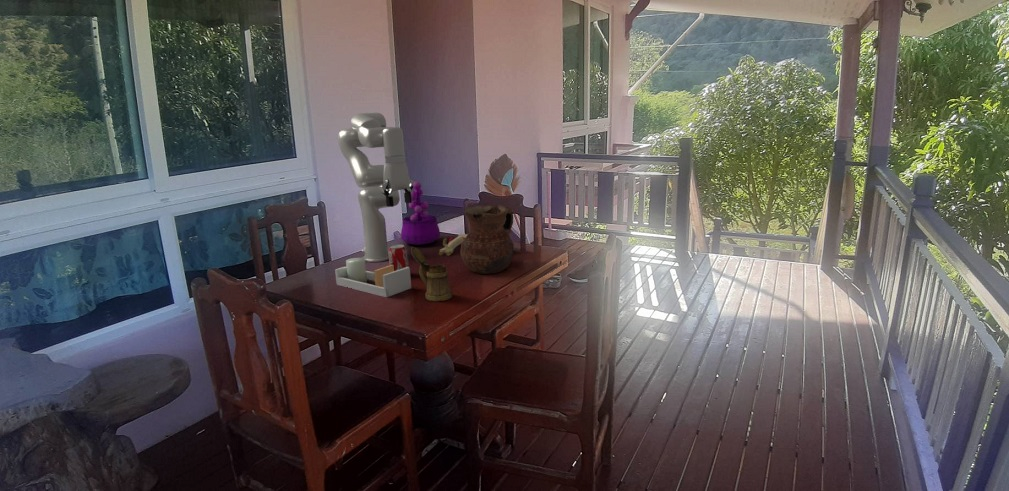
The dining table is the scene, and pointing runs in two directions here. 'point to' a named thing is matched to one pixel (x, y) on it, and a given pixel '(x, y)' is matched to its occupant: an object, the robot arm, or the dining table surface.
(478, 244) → the jug
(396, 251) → the soda can
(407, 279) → the pusher lane
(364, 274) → the sage jar
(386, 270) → the plate
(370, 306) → the dining table surface
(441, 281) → the wooden mug
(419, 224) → the decorative plant
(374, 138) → the robot arm
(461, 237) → the cream bone
